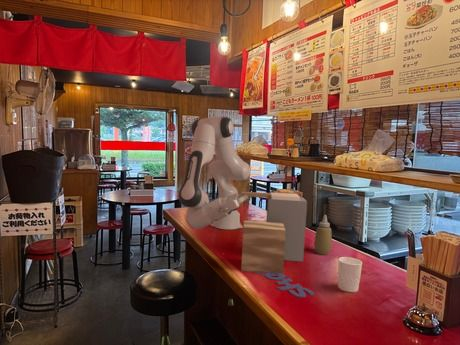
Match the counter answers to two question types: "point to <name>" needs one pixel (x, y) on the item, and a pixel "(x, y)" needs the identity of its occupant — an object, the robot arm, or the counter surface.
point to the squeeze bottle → (323, 237)
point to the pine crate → (263, 247)
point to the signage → (286, 284)
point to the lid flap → (273, 195)
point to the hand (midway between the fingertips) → (247, 194)
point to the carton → (290, 224)
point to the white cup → (349, 273)
